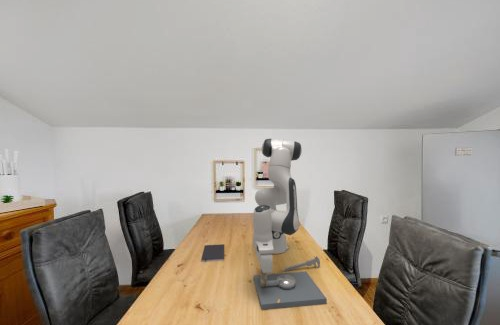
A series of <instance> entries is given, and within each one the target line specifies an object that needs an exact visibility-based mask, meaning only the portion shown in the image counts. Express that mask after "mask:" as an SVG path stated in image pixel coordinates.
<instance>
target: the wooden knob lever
mask: <svg viewBox="0 0 500 325" xmlns="http://www.w3.org/2000/svg"><path fill="white" fill-rule="evenodd" d="M267 274H268V273H263V271H262V269H260V275H261V287H263V288H264V287H266V286H275V285H278V286H279V287H280V288H282V289H292V288H294V287H295V278H294V277H292V276H290V275H280V276H278V277H277V280H270V281H267Z"/></svg>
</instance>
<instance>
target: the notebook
mask: <svg viewBox="0 0 500 325" xmlns="http://www.w3.org/2000/svg"><path fill="white" fill-rule="evenodd" d="M200 260H201V262H202V263H203V262H205V263H207V262H217V261H219V262H220V261H222V262H223V261H225V244H223V243H222V244H207V245H205V244H204V247H203V250H202V256H201V259H200Z"/></svg>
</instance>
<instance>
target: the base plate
mask: <svg viewBox="0 0 500 325" xmlns="http://www.w3.org/2000/svg"><path fill="white" fill-rule="evenodd" d="M280 275H290V276H292V277H294V278H295V287H294V288H292V289H282V288H280V287H279V286H278V285H275V286H266V287H264V288H263V287H261V274H255V275H253V282H254V287H255V290H256V293H257V296H258V301H259V305H260V308H261V310H262V311H263V310H274V309H282V308H283V309H285V308H293V307H294V308H296V307H304V306H314V305H315V306H317V305H325V304H326V305H327V302H328V301H327V297H326V296H325V294H324V293H323V292H322V291H321V288H319V286H318V285H317V284H316V283H315V281H314V280H313V278H312V277H311V276H310V274H309V272H307V271H294V272H281V273H267V281H270V280H277V277H278V276H280Z"/></svg>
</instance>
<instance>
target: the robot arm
mask: <svg viewBox="0 0 500 325" xmlns="http://www.w3.org/2000/svg"><path fill="white" fill-rule="evenodd" d="M302 150H303V149H302V145H301V143H300V142H297V141H293V140H290V139H289V140H288V139H280V138H279V139H276V138H274V139H272V138H266V139H264V141H263V143H262V145H261V152H262V155H263V156H264V157H266V158H269V163H268V169H267V177H268V180H269V181H270V182H271V183H272V184H273V187H267V188H264V187H263V188H262V189H258V190H257V191H256V192H255V195H254V200H255V202H256V204H257V206H256V207H255V208H254V210H253V215H252V228H253V229H252V230H253V234H252V246H253V248H254V249H255V254H256V257H257V260H258V263H259V267H260V268H259V269H260V270H261V269H262V271H263V273H267V274H272V271H273V259H274V258H273V254H275V255H277V254H283V253H285V252H286V251H287V250H289V249H290V247H289V246H288V244H287V236H286V235H288V236H292V235H293V234H295V233H297V232H298V230H299V227H300V220H299V213H298V198H297V197H298V196H297V185H296V181H295V179H294V178H292V175H291V174H292V173H291V167H292V161H297V160H299V159H300V157H301V156H302ZM285 204H286V205H285ZM279 205H285V206H286V211H284V210H283V211H281V210H277V206H279Z"/></svg>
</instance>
